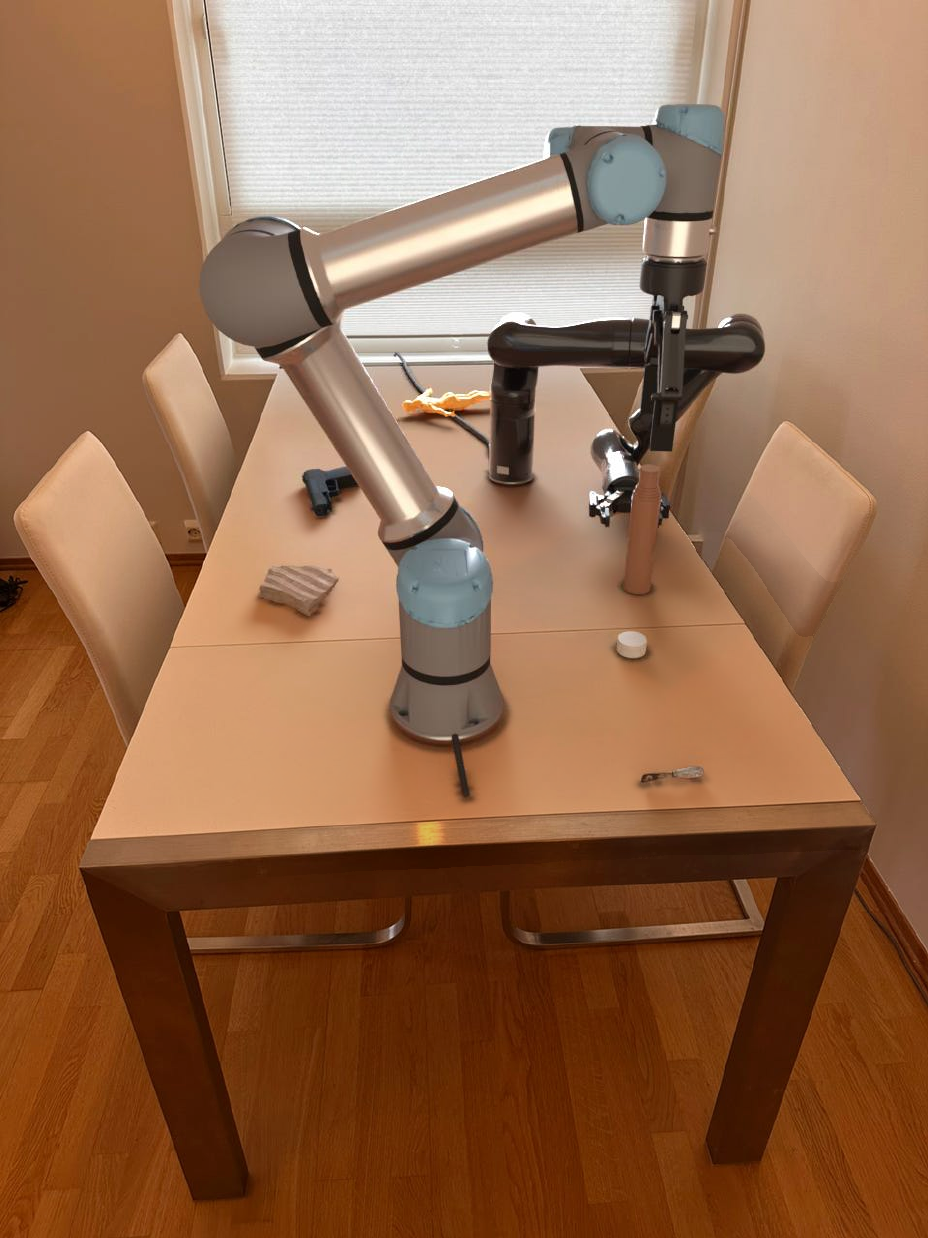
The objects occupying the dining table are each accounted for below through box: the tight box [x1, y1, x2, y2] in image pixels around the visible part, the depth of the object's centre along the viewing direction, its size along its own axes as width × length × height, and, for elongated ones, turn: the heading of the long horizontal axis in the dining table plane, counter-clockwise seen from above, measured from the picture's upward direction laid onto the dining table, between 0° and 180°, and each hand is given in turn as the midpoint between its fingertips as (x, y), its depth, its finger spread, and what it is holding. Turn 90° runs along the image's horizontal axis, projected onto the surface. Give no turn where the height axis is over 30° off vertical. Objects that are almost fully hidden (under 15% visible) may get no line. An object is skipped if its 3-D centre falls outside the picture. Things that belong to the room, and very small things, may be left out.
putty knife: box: [640, 765, 705, 784], centre depth 109 cm, size 1×8×2 cm, turn 103°
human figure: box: [402, 385, 490, 418], centre depth 225 cm, size 20×20×4 cm
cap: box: [616, 630, 648, 659], centre depth 133 cm, size 4×4×2 cm
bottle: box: [622, 463, 662, 595], centre depth 144 cm, size 4×4×21 cm
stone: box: [258, 564, 339, 617], centre depth 147 cm, size 13×12×3 cm
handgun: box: [301, 465, 359, 518], centre depth 180 cm, size 3×18×12 cm
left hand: (655, 431), depth 115 cm, fingers open, 13 cm apart
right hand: (632, 522), depth 155 cm, fingers open, 8 cm apart
